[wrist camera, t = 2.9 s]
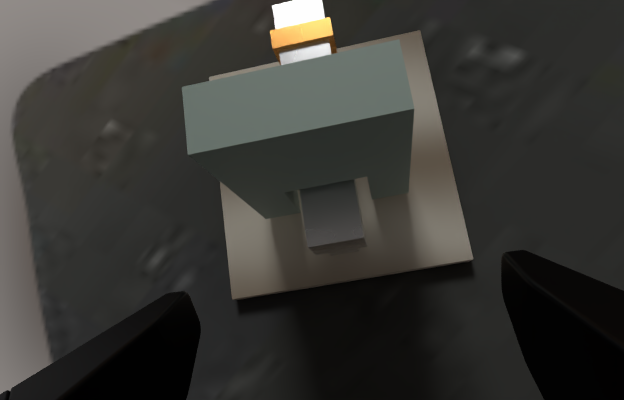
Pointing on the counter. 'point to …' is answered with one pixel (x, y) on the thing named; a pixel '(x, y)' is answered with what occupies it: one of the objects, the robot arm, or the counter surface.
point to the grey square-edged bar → (336, 196)
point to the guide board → (375, 212)
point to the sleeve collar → (305, 127)
